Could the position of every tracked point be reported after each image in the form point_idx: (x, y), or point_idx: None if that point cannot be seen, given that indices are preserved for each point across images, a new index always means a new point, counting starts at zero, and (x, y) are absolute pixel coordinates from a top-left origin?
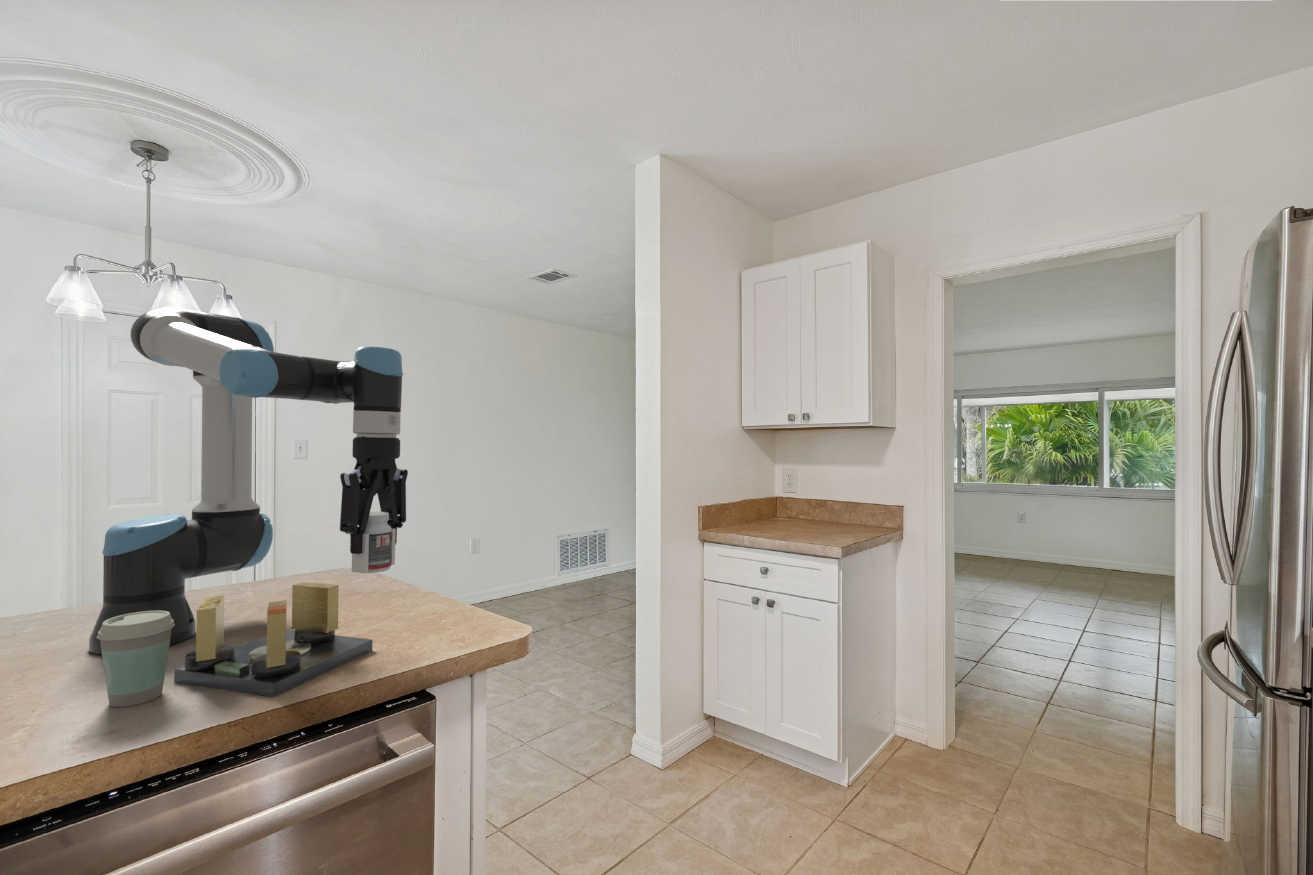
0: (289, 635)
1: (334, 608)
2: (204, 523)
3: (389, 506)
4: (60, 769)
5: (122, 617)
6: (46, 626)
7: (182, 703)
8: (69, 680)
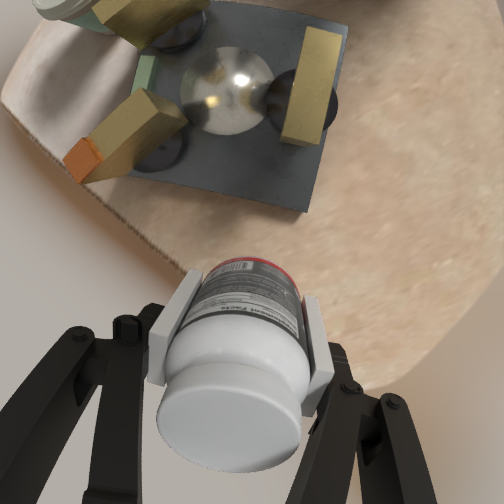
0: None
1: (300, 143)
2: None
3: (293, 488)
4: (8, 108)
5: None
6: None
7: (103, 75)
8: None
